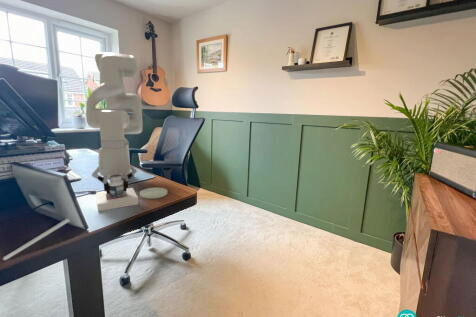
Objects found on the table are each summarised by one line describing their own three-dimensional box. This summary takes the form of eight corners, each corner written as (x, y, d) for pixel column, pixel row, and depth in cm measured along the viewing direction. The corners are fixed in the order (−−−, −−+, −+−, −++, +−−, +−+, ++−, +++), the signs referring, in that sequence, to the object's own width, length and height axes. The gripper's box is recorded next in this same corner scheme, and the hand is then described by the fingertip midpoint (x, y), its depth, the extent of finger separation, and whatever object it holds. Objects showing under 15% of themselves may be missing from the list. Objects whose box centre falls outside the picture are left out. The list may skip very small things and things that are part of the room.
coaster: (137, 192, 99) (137, 189, 98) (163, 188, 104) (163, 186, 104) (142, 200, 90) (142, 198, 89) (170, 196, 95) (170, 193, 95)
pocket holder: (96, 198, 90) (96, 192, 89) (132, 193, 97) (132, 187, 96) (98, 211, 79) (97, 204, 79) (138, 204, 86) (138, 198, 86)
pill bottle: (106, 198, 87) (104, 176, 85) (119, 194, 92) (117, 173, 90) (114, 202, 85) (112, 179, 83) (127, 197, 89) (126, 175, 87)
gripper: (136, 142, 91) (138, 185, 95) (85, 144, 82) (90, 191, 86) (140, 145, 85) (142, 191, 89) (85, 147, 76) (90, 198, 80)
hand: (116, 190), depth 88 cm, fingers closed on pill bottle, 5 cm apart
